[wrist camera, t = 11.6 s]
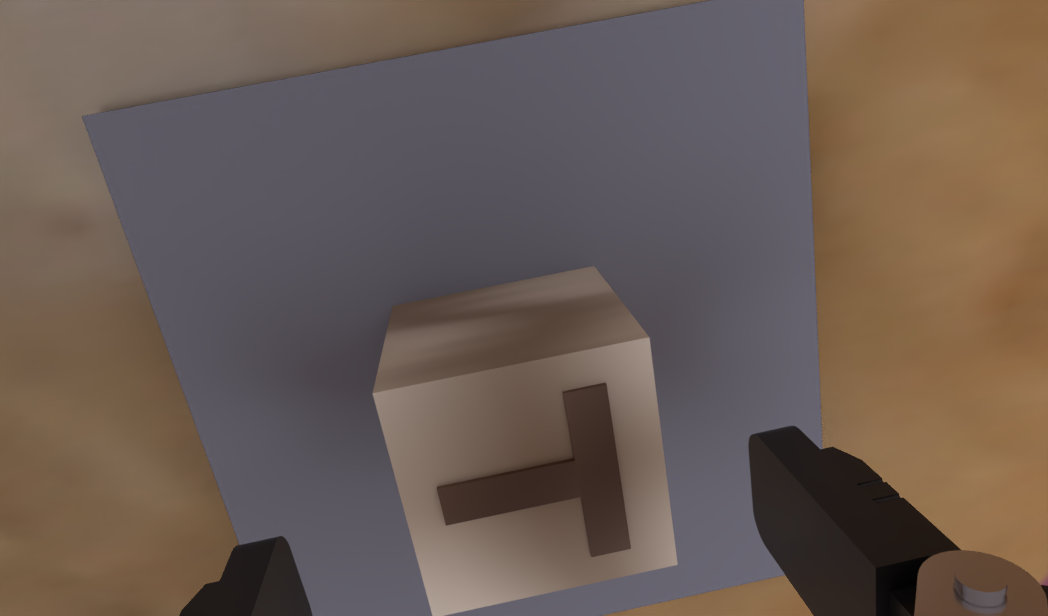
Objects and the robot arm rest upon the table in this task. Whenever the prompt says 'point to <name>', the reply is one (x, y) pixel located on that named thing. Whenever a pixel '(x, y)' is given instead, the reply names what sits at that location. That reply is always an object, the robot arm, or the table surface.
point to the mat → (483, 267)
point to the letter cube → (525, 439)
